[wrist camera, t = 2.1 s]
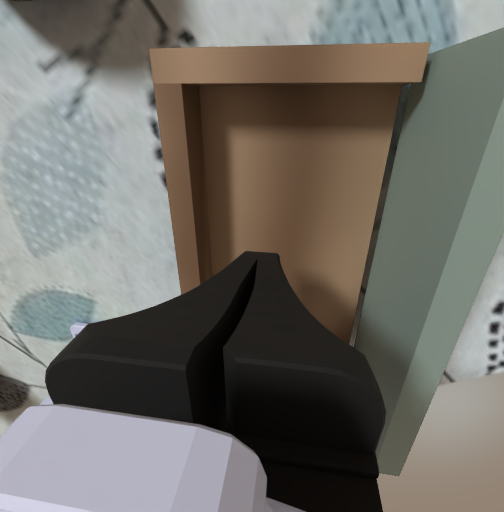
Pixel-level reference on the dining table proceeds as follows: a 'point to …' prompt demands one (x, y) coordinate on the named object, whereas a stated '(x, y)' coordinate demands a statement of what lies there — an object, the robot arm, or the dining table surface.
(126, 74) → the dining table surface
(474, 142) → the panel
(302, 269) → the crate
